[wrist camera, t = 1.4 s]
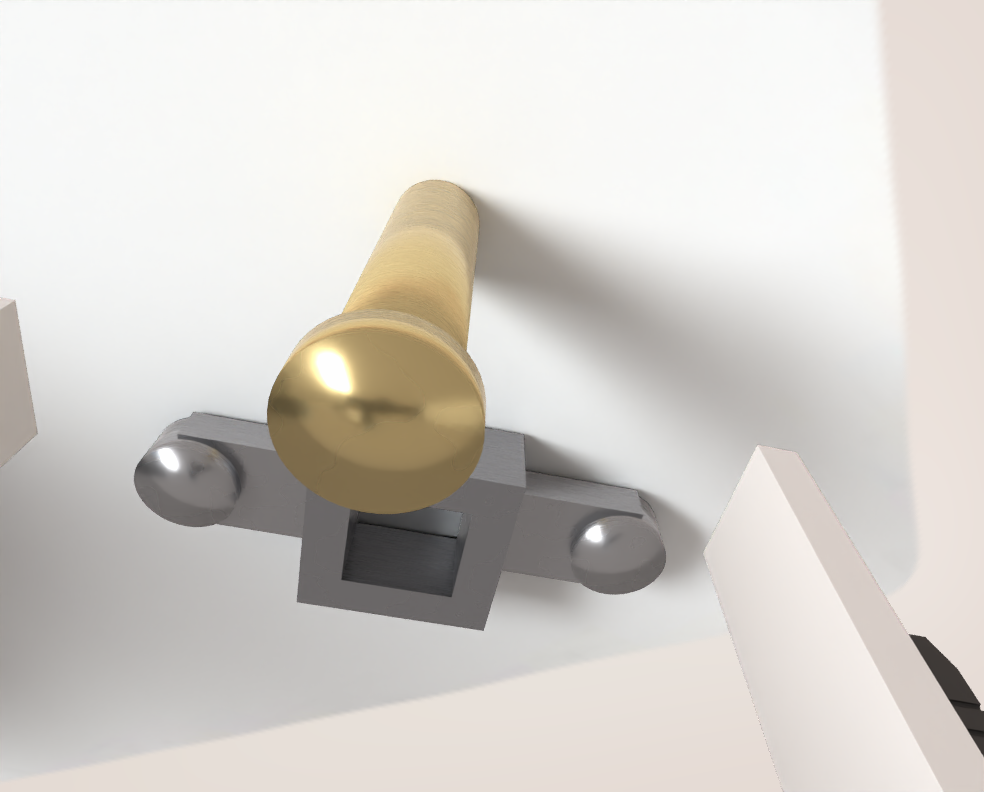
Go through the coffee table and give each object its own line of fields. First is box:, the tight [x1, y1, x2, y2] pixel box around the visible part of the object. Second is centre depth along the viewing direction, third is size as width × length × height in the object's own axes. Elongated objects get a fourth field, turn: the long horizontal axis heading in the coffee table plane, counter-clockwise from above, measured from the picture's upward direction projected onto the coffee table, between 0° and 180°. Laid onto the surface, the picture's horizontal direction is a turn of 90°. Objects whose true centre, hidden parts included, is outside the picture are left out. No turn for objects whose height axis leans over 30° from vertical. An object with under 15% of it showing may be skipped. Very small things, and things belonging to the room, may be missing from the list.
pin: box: [267, 180, 486, 514], centre depth 18 cm, size 4×4×13 cm
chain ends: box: [134, 412, 666, 631], centre depth 28 cm, size 22×8×4 cm, turn 78°
